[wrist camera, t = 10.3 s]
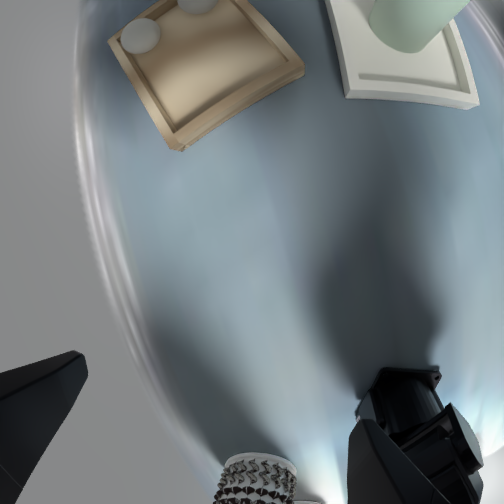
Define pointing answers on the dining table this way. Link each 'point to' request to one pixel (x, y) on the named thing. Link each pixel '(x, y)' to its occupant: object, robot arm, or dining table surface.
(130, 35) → the pebble
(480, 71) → the dining table surface
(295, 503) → the bottle
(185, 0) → the white ball
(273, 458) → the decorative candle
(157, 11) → the wooden tray
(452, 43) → the white tray
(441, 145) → the dining table surface
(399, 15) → the sage green tall cylinder
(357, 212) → the dining table surface
